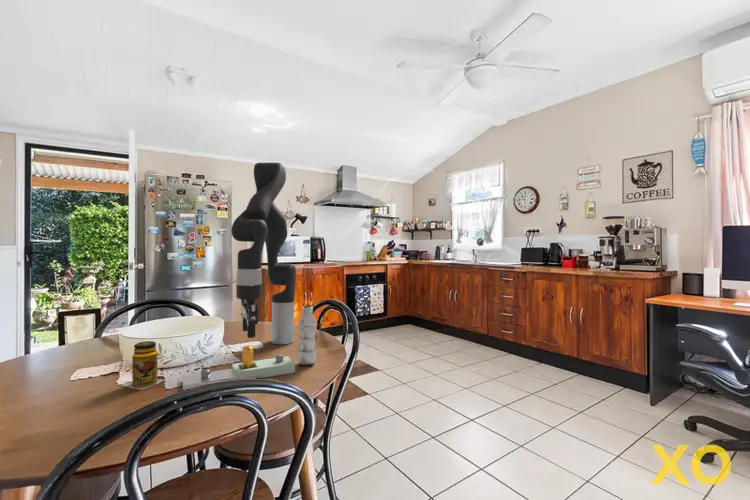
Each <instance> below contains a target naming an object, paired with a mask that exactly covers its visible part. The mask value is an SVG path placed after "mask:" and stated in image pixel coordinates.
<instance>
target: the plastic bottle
mask: <svg viewBox="0 0 750 500" xmlns="http://www.w3.org/2000/svg"><path fill="white" fill-rule="evenodd" d="M301 313H302V314H301V316H300V317H299V319H298V321H297V326H298V336H299V337H298V338H299V340H298V343H299V344H298V351H297V357H296V358H297V362H298V364H299V365H301V366H309V365H313V364H314V363H315V362H316V359H317V351H316V344H315V343H316V342H315V341H316V340H315V337H316V328H317V319H316V317H315V316H314V314H313V313H314V307H313V306H311V305H305V306H304V305H303V306H302V310H301Z"/></svg>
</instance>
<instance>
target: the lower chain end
mask: <svg viewBox="0 0 750 500" xmlns="http://www.w3.org/2000/svg"><path fill="white" fill-rule="evenodd" d="M253 368H255V367H253ZM241 370H242V369H241ZM263 374H264V373H259V374H253V375H246V376H240V377H236V376H235V373H234V371H233V369H232V368H229V369H222V370H214V371H211V369H210V368H204V369H201V371H200V373H194V374H193V373H192V374H185V375H182V376H181V377H182V378H181V383H183V385H182V391H183V390H185V389H189V388H193V387H196V386H200V385H204V384H208V383H212V382H217V381H223V380H231V379H240V378H258V379H262V378H263ZM185 391H186V390H185Z"/></svg>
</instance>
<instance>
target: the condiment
mask: <svg viewBox="0 0 750 500" xmlns="http://www.w3.org/2000/svg"><path fill="white" fill-rule="evenodd" d="M156 345H157V343H156V342H155V341H152V340H151V341H150V340H148V341H141V342H137V343H136V344H134V346H133V347H134V350H133V354H132V362H131V363H132V367H131V370H132V376H131V377H132V381H129V382H126V383H124V384H121V385H120V386H121V387H126V388H129V389H130V388H131V389H135V390H139V391H142V390H146V389H147V388H151V387H153V386H156V385H158V384H160V383H162V382H165V380H164V379H158V351H157V350H156V349H157V347H156Z"/></svg>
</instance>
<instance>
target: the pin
mask: <svg viewBox="0 0 750 500" xmlns="http://www.w3.org/2000/svg"><path fill="white" fill-rule="evenodd" d="M241 358H242V361H241V363H242V369H249V368H253V361H254V345H243V346H242V357H241Z"/></svg>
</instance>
